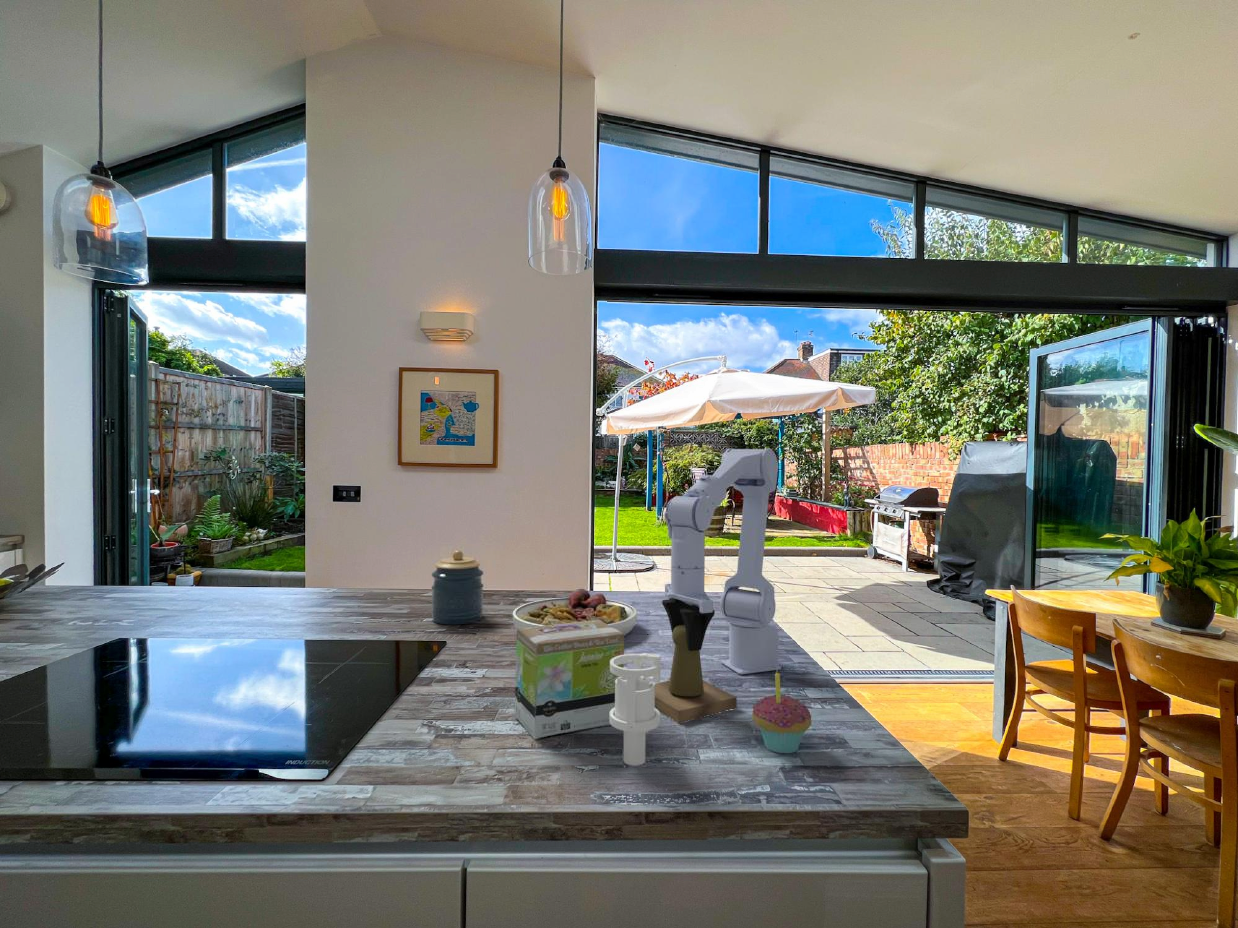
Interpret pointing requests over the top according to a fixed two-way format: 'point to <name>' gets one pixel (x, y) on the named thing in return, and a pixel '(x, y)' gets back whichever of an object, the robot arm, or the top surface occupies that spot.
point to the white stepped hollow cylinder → (635, 702)
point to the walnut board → (692, 702)
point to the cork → (685, 667)
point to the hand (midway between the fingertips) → (687, 645)
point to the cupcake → (781, 720)
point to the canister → (457, 590)
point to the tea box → (565, 676)
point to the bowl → (576, 611)
